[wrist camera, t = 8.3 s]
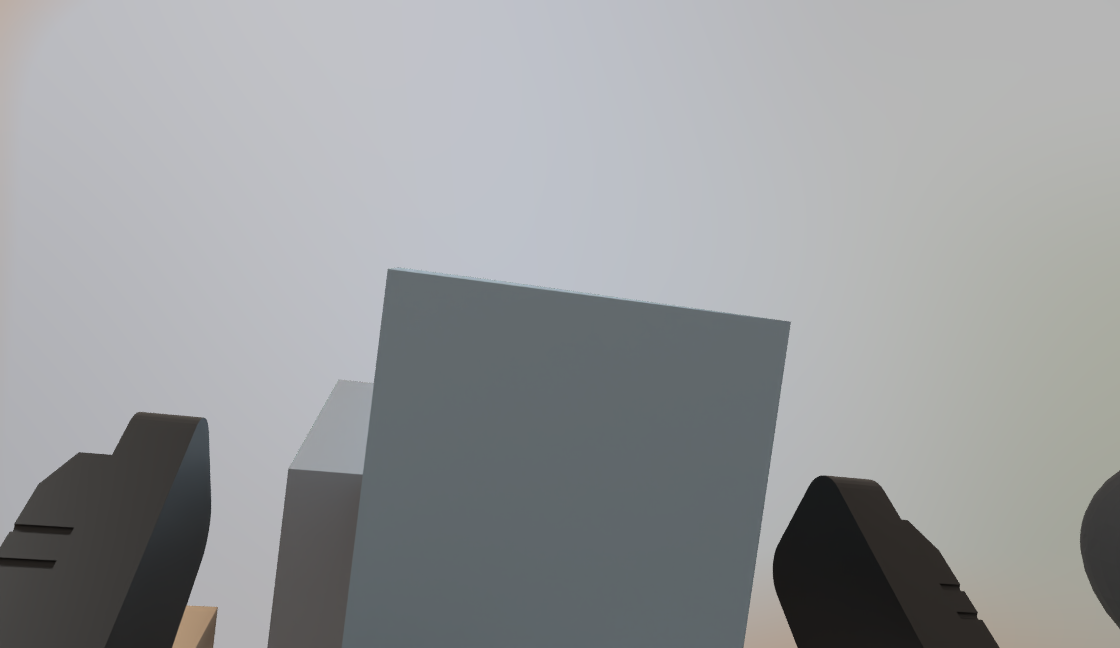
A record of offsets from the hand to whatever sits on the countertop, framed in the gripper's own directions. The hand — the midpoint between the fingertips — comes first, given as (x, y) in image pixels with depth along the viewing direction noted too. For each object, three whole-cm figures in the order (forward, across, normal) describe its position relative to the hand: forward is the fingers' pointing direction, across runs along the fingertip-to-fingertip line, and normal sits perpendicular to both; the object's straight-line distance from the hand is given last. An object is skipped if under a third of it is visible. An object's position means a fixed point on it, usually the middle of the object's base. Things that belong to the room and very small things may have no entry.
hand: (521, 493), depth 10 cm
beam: (+6, 0, +5) cm, 8 cm away
